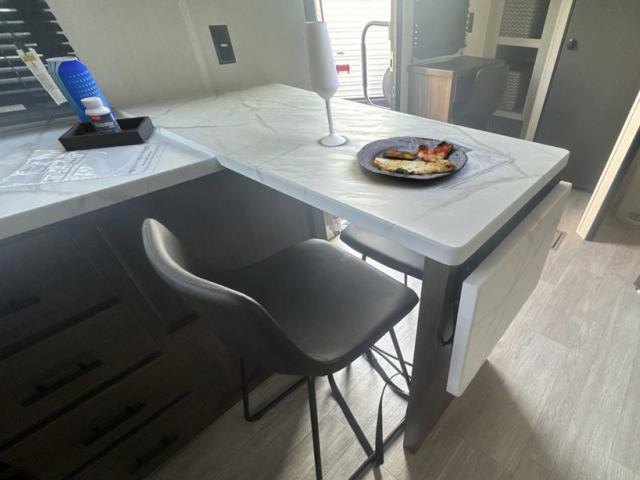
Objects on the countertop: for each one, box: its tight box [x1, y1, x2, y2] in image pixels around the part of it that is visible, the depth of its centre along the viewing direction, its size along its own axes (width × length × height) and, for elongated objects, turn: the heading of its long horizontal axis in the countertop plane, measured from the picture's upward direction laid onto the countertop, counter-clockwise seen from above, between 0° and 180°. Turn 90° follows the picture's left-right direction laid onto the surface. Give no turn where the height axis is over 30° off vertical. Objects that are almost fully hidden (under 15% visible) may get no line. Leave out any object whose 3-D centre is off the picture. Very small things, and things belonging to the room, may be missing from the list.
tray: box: [57, 115, 156, 152], centre depth 85 cm, size 18×14×3 cm
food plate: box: [356, 135, 469, 180], centre depth 72 cm, size 25×23×4 cm
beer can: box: [45, 56, 117, 122], centre depth 88 cm, size 8×8×16 cm
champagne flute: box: [304, 20, 347, 147], centre depth 75 cm, size 7×7×24 cm
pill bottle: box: [81, 97, 122, 134], centre depth 83 cm, size 5×5×9 cm
